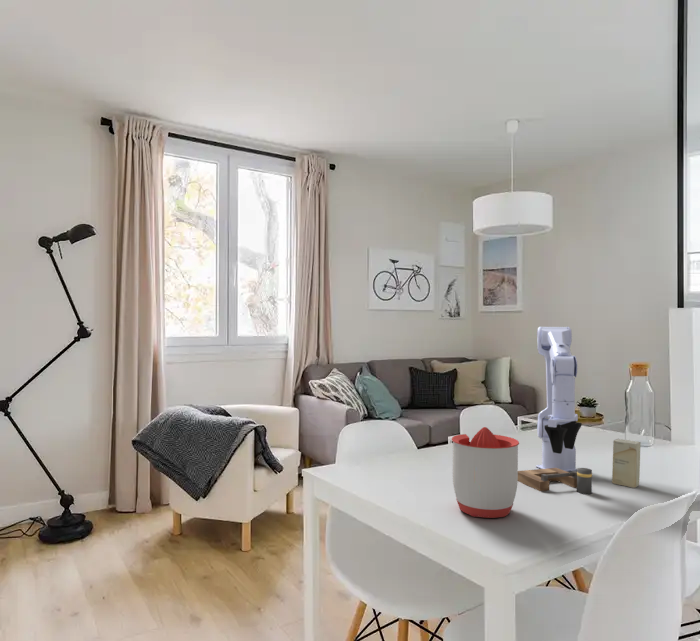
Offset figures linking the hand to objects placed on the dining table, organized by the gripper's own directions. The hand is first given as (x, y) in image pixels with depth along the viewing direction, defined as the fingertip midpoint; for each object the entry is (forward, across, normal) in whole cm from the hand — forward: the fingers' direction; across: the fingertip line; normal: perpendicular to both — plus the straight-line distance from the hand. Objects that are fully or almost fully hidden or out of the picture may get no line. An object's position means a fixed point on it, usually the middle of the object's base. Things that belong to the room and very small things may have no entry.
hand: (563, 450), depth 149 cm
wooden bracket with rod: (+10, -2, -5) cm, 12 cm away
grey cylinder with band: (+10, -2, +5) cm, 12 cm away
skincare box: (+11, -17, +10) cm, 23 cm away
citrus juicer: (+11, +30, -6) cm, 33 cm away
